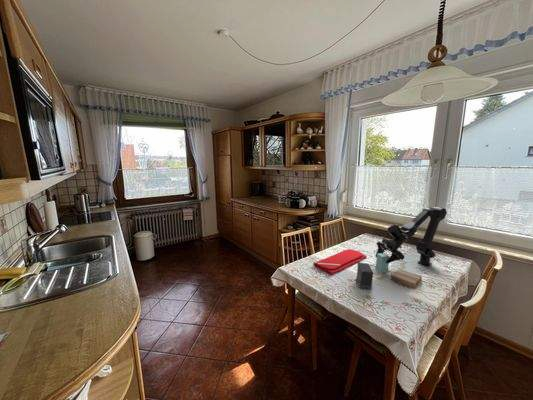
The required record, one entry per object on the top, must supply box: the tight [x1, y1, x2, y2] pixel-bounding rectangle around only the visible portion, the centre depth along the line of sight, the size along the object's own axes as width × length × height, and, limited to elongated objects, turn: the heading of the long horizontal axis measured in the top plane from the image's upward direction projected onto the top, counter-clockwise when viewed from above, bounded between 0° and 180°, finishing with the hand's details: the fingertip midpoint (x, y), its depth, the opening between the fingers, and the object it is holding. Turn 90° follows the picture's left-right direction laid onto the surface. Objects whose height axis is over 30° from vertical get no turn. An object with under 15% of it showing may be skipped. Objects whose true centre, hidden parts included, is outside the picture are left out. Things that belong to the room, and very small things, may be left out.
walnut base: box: [390, 268, 423, 290], centre depth 129 cm, size 12×12×3 cm
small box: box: [356, 262, 374, 290], centre depth 125 cm, size 11×6×10 cm, turn 168°
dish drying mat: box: [312, 248, 368, 276], centre depth 153 cm, size 16×41×4 cm, turn 127°
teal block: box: [375, 252, 390, 272], centre depth 142 cm, size 5×5×10 cm
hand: (380, 259), depth 141 cm, fingers open, 9 cm apart
